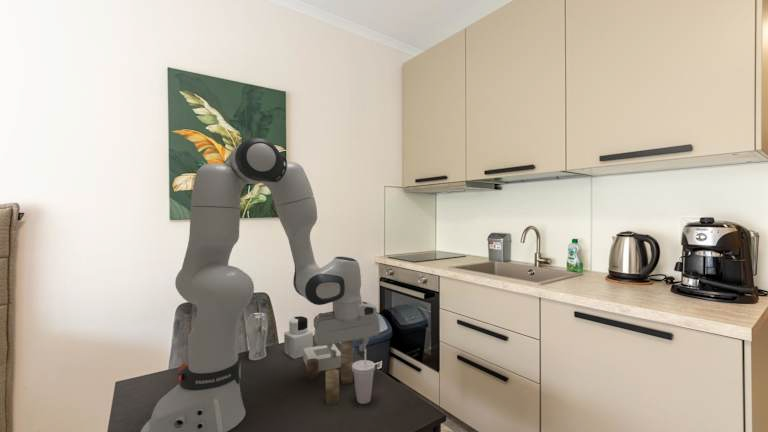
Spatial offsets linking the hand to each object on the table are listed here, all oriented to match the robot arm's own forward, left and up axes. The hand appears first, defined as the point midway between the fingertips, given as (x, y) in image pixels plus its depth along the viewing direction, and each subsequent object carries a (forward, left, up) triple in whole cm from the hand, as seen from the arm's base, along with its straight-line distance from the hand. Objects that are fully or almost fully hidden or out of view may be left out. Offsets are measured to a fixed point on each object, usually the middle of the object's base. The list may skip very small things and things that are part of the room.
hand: (348, 353), depth 103 cm
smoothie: (0, -12, -8) cm, 15 cm away
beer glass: (-25, +30, -8) cm, 39 cm away
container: (-11, +27, -8) cm, 30 cm away
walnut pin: (-10, +7, -8) cm, 14 cm away
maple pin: (-1, 0, -8) cm, 8 cm away
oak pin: (-8, -9, -8) cm, 14 cm away
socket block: (-5, +15, -8) cm, 17 cm away
